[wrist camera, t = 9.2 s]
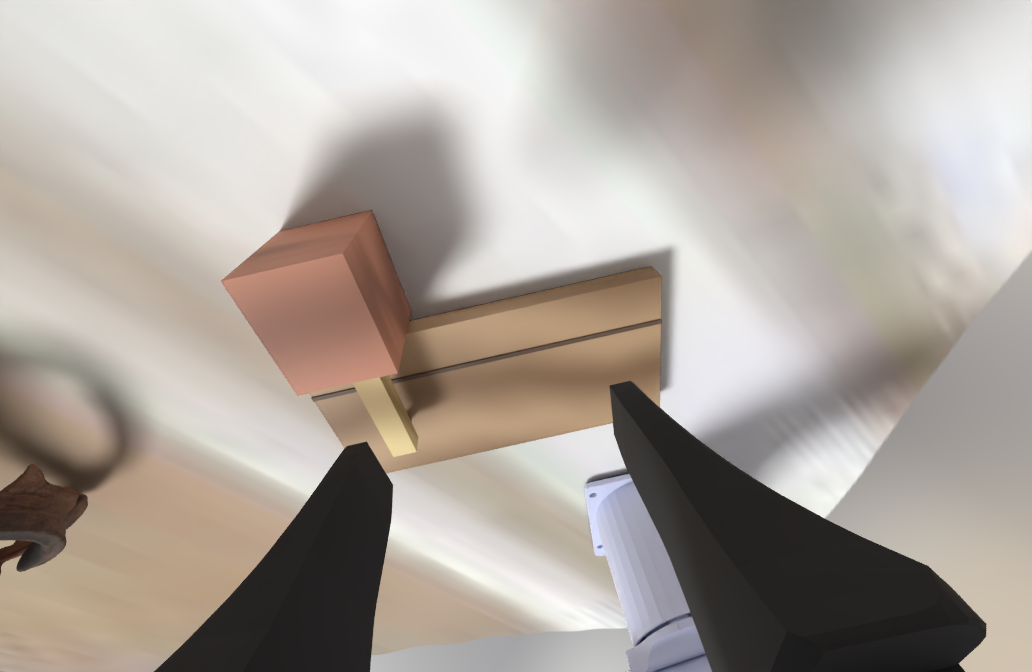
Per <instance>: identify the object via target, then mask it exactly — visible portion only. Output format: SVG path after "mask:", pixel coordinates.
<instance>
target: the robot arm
mask: <svg viewBox="0 0 1032 672" xmlns="http://www.w3.org/2000/svg"><path fill="white" fill-rule="evenodd" d="M609 387H610V397H611V407H612V417H613V427H614V435H615V438H616V441H617V444H618V446H619V449H620V452H621V455H622V458H623V460H624V463H625V466H626V468H627V470H628V472H629V474H626V475H621V476H617V477H612V478H608V479H603V480H599V481H594V482H590V483H588V484H586V485H585V487H584V490H585V496H586V503H587V509H588V515H589V522H590V528H591V534H592V541H593V547H594V552H595V555H596V556H604V555H606V557H607V561H608V564H609V567H610V571H611V574H612V577H613V581H614V584H615V587H616V591H617V594H618V597H619V600H620V604H621V607H622V610H623V614H624V617H625V620H626V624H627V627H628V630H629V633H630V637H631V640H632V644H633V647H634V648H632V649H629V650H627V651H626V655H627V659H628V662H629V666H630V669H631V670H629V671H626V672H965V671H964V670H963V668H962V667H961V666H960V665H959V664H958V663H960V662H961V661H962V660H963V659H964V658H965V657H966V656H967V655H968V654H969V653H971V652H972V651H973V650H974V649H975V648H976V647H977V646H978V645H979V644H980V643H981V642H982V641H983V639H984V638H985V637H986V623H985V622H984V621H983V620H982V619H981V618H980V617H979V616H978V615H977V614H976V613H975V612H974V611H973V610H972V609H971V608H970V607H969V606H968V605H967V603H966V602H965V601H964V600H963V599H962V598H961V597H960V596H959V595H958V594H957V593H956V592H955V591H954V590H953V589H952V588H951V587H950V586H949V585H948V584H947V583H946V582H945V581H944V580H942V579H941V578H940V577H939V576H938V575H937V574H936V573H935V572H934V571H933V570H932V569H931V568H930V567H929V566H927V565H924V564H922V563H920V562H917V561H915V560H913V559H911V558H908V557H906V556H904V555H901V554H899V553H897V552H895V551H892V550H890V549H887V548H886V547H883V546H881V545H879V544H876V543H874V542H872V541H870V540H867V539H865V538H863V537H861V536H859V535H857V534H854V533H852V532H850V531H848V530H846V529H844V528H842V527H840V526H838V525H836V524H834V523H832V522H830V521H828V520H826V519H824V518H822V517H821V516H819V515H817V514H815V513H813V512H811V511H810V510H808V509H806V508H804V507H802V506H800V505H799V504H797V503H795V502H793V501H791V500H790V499H788V498H786V497H784V496H782V495H780V494H779V493H777V492H775V491H774V490H772V489H770V488H769V487H767V486H765V485H764V484H762V483H760V482H759V481H757V480H755V479H754V478H752V477H751V476H749V475H748V474H746V473H745V472H743V471H742V470H740V469H738V468H737V467H735V466H734V465H732V464H731V463H730V462H728V461H727V460H725V459H724V458H722V457H721V456H720V455H718V454H717V453H715V452H714V451H713V450H711V449H710V448H709V447H707V446H706V445H705V444H703V443H702V442H701V441H699V440H698V439H697V438H695V437H694V436H693V435H692V434H690V433H689V432H688V431H687V430H686V429H684V428H683V427H682V426H681V425H679V424H678V423H677V422H676V421H675V420H673V419H672V418H671V417H670V416H669V415H668V414H666V413H665V412H664V411H663V410H662V409H661V408H660V407H659V406H658V405H656V404H655V403H654V402H653V401H652V400H651V399H650V398H649V397H648V396H647V395H646V394H645V393H644V392H643V391H642V390H641V389H640V388H639V387H638V386H637V385H636V384H635V383H633V382H632V381H627V382H622V383H618V384H614V385H609ZM392 495H393V484H392V483H391V481H390V479H389V478H388V476H387V474H386V473H385V471H384V469H383V468H382V466H381V464H380V463H379V461H378V459H377V458H376V456H375V454H374V453H373V451H372V449H371V448H370V446H369V444H368V443H367V441H366V442H362V443H358V444H353V445H349V446H346V447H345V449H344V450H343V451H342V453H341V454H340V456H339V457H338V458H337V460H336V461H335V463H334V464H333V465H332V467H331V468H330V470H329V471H328V473H327V474H326V475H325V477H324V478H323V480H322V481H321V483H320V484H319V485H318V487H317V488H316V490H315V491H314V492H313V494H312V495H311V497H310V498H309V499H308V501H307V502H306V503H305V505H304V506H303V508H302V509H301V510H300V512H299V513H298V514H297V516H296V517H295V518H294V520H293V521H292V522H291V524H290V525H289V526H288V527H287V529H286V530H285V531H284V533H283V534H282V535H281V536H280V538H279V539H278V540H277V542H276V543H275V544H274V545H273V547H272V548H271V549H270V551H269V552H268V553H267V554H266V555H265V557H264V558H263V559H262V560H261V561H260V563H259V564H258V565H257V566H256V567H255V569H254V570H253V571H252V572H251V573H250V574H249V575H248V577H247V578H246V579H245V580H244V581H243V582H242V583H241V584H240V586H239V587H238V588H237V589H236V590H235V591H234V592H233V593H232V594H231V596H230V597H229V598H228V599H227V600H226V601H225V602H224V603H223V604H222V605H221V606H220V607H219V608H218V609H217V610H216V611H215V612H214V613H213V614H212V615H211V616H210V617H209V618H208V619H207V620H206V621H205V622H204V624H203V625H202V626H201V627H200V628H199V629H198V630H197V631H196V632H195V633H194V634H193V635H192V636H191V637H190V638H189V639H188V640H187V641H186V642H185V643H184V644H183V645H182V646H181V647H180V648H179V649H178V650H177V651H175V652H174V653H173V654H172V655H171V656H170V657H169V658H168V659H167V660H166V661H165V662H164V663H163V664H162V665H161V666H160V667H159V668H157V669H156V670H155V671H154V672H370V661H371V650H372V638H373V626H374V617H375V610H376V603H377V597H378V591H379V586H380V580H381V575H382V569H383V564H384V558H385V553H386V547H387V541H388V536H389V530H390V524H391V515H392Z"/></svg>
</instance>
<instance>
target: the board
mask: <svg viewBox="0 0 1032 672" xmlns="http://www.w3.org/2000/svg"><path fill="white" fill-rule="evenodd" d="M660 350H661V275H660V274H659V273H658V272H657V271H656V270H655V269H654V268H653V267H652V266H650V267H646V268H641V269H637V270H632V271H628V272H624V273H619V274H615V275H610V276H606V277H602V278H597V279H593V280H588V281H584V282H579V283H575V284H571V285H566V286H562V287H557V288H553V289H549V290H544V291H540V292H535V293H531V294H526V295H522V296H518V297H513V298H509V299H504V300H500V301H495V302H491V303H487V304H482V305H478V306H473V307H469V308H465V309H460V310H456V311H451V312H447V313H442V314H438V315H434V316H429V317H425V318H420V319H416V320H412V321H409V324H408V328H407V333H406V338H405V342H404V347H403V352H402V356H401V361H400V365H399V370H398V373H396V374H392V375H389V376H390V378H391V381H392V383H393V385H394V387H395V389H396V391H397V393H398V395H399V397H400V399H401V401H402V404H403V406H404V408H405V410H406V412H407V414H408V415H409V416H411V417H412V424H413V426H414V429H415V431H416V433H417V435H418V446H417V452H414V453H410V454H405V455H401V456H396V457H393V455H392V454H391V452H390V450H389V448H388V446H387V445H386V443H385V441H384V439H383V437H382V436H381V434H380V432H379V430H378V428H377V427H376V425H375V423H374V421H373V419H372V417H371V416H370V414H369V412H368V410H367V408H366V407H365V405H364V403H363V401H362V399H361V398H360V396H359V394H358V392H357V390H356V389H355V387H354V385H353V383H352V384H347V385H343V386H338V387H334V388H330V389H325V390H321V391H316V392H312V393H309V394H310V395H311V397H312V398H311V399H312V400H313V402H315V403H316V405H317V406H318V408H319V409H320V411H321V412H322V414H323V415H324V417H325V419H326V420H327V422H328V423H329V425H330V426H331V428H332V429H333V431H334V433H335V434H336V436H337V437H338V439H339V440H340V442H341V443H342V445H343V446H344V448H345V447H346V446H349V445H353V444H358V443H362V442H366V441H367V443H368V444H369V446H370V448H371V449H372V451H373V453H374V454H375V456H376V458H377V459H378V461H379V463H380V464H381V466H382V468H383V469H384V471H385V473H390V472H394V471H399V470H403V469H408V468H412V467H417V466H421V465H426V464H430V463H435V462H439V461H444V460H448V459H453V458H457V457H462V456H466V455H471V454H475V453H480V452H484V451H489V450H493V449H498V448H502V447H507V446H511V445H516V444H520V443H525V442H529V441H534V440H538V439H543V438H547V437H552V436H556V435H561V434H565V433H570V432H574V431H579V430H583V429H588V428H592V427H597V426H601V425H606V424H610V423H613V417H612V407H611V397H610V387H609V385H614V384H618V383H622V382H627V381H632V382H633V383H635V384H636V385H637V386H638V387H639V388H640V389H641V390H642V391H643V392H644V393H645V394H646V395H647V396H648V397H649V398H650V399H651V400H652V401H653V402H654V403H655V404H656V405H658V406H659V407H660Z"/></svg>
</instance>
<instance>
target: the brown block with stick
mask: <svg viewBox="0 0 1032 672" xmlns="http://www.w3.org/2000/svg"><path fill="white" fill-rule="evenodd" d="M221 282H222V284H223V285H224V287H225V288H226V290H227V291H228V293H229V294H230V296H231V297H232V299H233V300H234V302H235V303H236V305H237V306H238V308H239V309H240V311H241V312H242V314H243V315H244V317H245V318H246V320H247V321H248V323H249V324H250V326H251V327H252V329H253V330H254V332H255V333H256V335H257V336H258V338H259V339H260V340H261V342H262V343H263V345H264V346H265V348H266V349H267V351H268V352H269V354H270V355H271V357H272V358H273V360H274V361H275V363H276V364H277V366H278V367H279V369H280V370H281V372H282V373H283V375H284V376H285V378H286V379H287V381H288V382H289V384H290V385H291V387H292V388H293V390H294V391H295V393H296V394H297V396H298V395H303V394H307V393H312V392H316V391H321V390H325V389H330V388H334V387H338V386H343V385H347V384H352V383H353V385H354V387H355V389H356V390H357V392H358V394H359V396H360V398H361V399H362V401H363V403H364V405H365V407H366V408H367V410H368V412H369V414H370V416H371V417H372V419H373V421H374V423H375V425H376V427H377V428H378V430H379V432H380V434H381V436H382V437H383V439H384V441H385V443H386V445H387V446H388V448H389V450H390V452H391V454H392V455H393V457H396V456H401V455H405V454H410V453H414V452H417V446H418V435H417V433H416V431H415V429H414V426H413V424H412V417H411V416H409V415H408V414H407V412H406V410H405V408H404V406H403V404H402V401H401V399H400V397H399V395H398V393H397V391H396V389H395V387H394V385H393V383H392V381H391V378H390V376H389V375H392V374H396V373H398V370H399V365H400V361H401V356H402V352H403V347H404V342H405V338H406V333H407V328H408V324H409V319H410V315H411V309H410V306H409V303H408V301H407V298H406V296H405V293H404V291H403V288H402V286H401V283H400V281H399V278H398V275H397V273H396V270H395V268H394V265H393V263H392V260H391V258H390V255H389V253H388V250H387V247H386V245H385V242H384V240H383V237H382V235H381V232H380V230H379V227H378V225H377V222H376V219H375V217H374V214H373V212H372V210H370V211H366V212H361V213H357V214H353V215H348V216H344V217H339V218H335V219H331V220H326V221H322V222H318V223H313V224H309V225H305V226H300V227H296V228H291V229H287V230H283V231H279V232H278V233H277V234H276V235H275V236H273V237H272V238H271V239H270V240H269V241H268V242H266V243H265V244H264V245H263V246H262V247H260V248H259V249H258V250H257V251H256V252H255V253H253V254H252V255H251V256H250V257H249V258H247V259H246V260H245V261H244V262H243V263H242V264H240V265H239V266H238V267H237V268H236V269H235V270H233V271H232V272H231V273H230V274H229V275H227V276H226V277H225V278H224V279H223V280H222V281H221Z"/></svg>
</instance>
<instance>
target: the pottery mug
mask: <svg viewBox="0 0 1032 672" xmlns="http://www.w3.org/2000/svg"><path fill="white" fill-rule="evenodd" d="M87 506H88V501H87V496H86V495H84V494H79V493H78V492H77V491H75V490H73V489H71V488H68V487H61V486H56V485H52V484H50V483H49V482H47V481H46V480H45V478H44V475H43V473H42V471H41V470H40V469H39V468H38V467H37V466H36V465H35V464H31V465H29V466H28V467H27V469H26V470H25V472H24V473H23V474H22V475H20V476H19V477H18V478H17V479H16V480H15V481H14V482H13V483H11V484H10V485H8V486H7V487H5V488H4V489H3V490H1V491H0V540H16V541H15V543H14V544H13V545H11V546H8V547H4V548H1V549H0V574H1V566H2V564H3V563H4V562H6V561H8V560H10V559H13V558H17V557H19V556H21V555H22V556H21V558H20V560H19V562H18V564H17V571H19V572H22V571H26V570H28V569H30V568H33V567H36V566H40V565H42V564H44V563H46V562H48V561H50V560H51V559H53V558H54V557H56V556H57V554H59V553H60V552H61V551H62V550H63V549H64V547H65V545H66V537H65V533H66V529H68V528H69V527H70V526H71V525H72V524H73V523H74V522H75V521H76V520H77V519H78V518H79V517H80V516H81V515H82V514H83V512H84V511H85V510H86V508H87Z"/></svg>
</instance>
